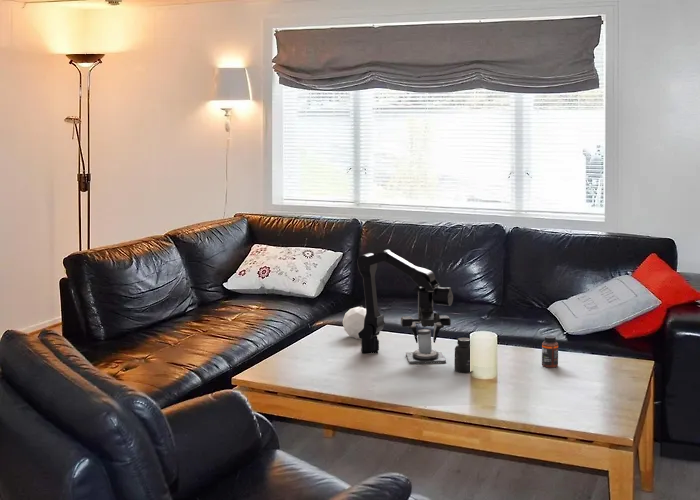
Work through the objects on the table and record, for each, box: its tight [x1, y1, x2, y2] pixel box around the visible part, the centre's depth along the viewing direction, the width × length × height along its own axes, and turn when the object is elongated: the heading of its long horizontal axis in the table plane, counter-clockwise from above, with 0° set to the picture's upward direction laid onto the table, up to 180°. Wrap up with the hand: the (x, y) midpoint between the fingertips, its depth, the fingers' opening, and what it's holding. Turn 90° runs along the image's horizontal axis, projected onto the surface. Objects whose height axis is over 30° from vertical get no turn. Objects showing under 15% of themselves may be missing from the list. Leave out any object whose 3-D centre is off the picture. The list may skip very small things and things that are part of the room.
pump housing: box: [417, 328, 433, 353], centre depth 317 cm, size 5×5×8 cm
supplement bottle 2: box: [541, 334, 559, 369], centre depth 306 cm, size 6×6×11 cm
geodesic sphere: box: [342, 305, 366, 340], centre depth 350 cm, size 14×14×14 cm
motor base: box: [405, 348, 447, 365], centre depth 318 cm, size 14×12×3 cm
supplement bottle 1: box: [453, 337, 471, 374], centre depth 302 cm, size 7×7×12 cm
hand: (425, 342), depth 317 cm, fingers open, 6 cm apart
